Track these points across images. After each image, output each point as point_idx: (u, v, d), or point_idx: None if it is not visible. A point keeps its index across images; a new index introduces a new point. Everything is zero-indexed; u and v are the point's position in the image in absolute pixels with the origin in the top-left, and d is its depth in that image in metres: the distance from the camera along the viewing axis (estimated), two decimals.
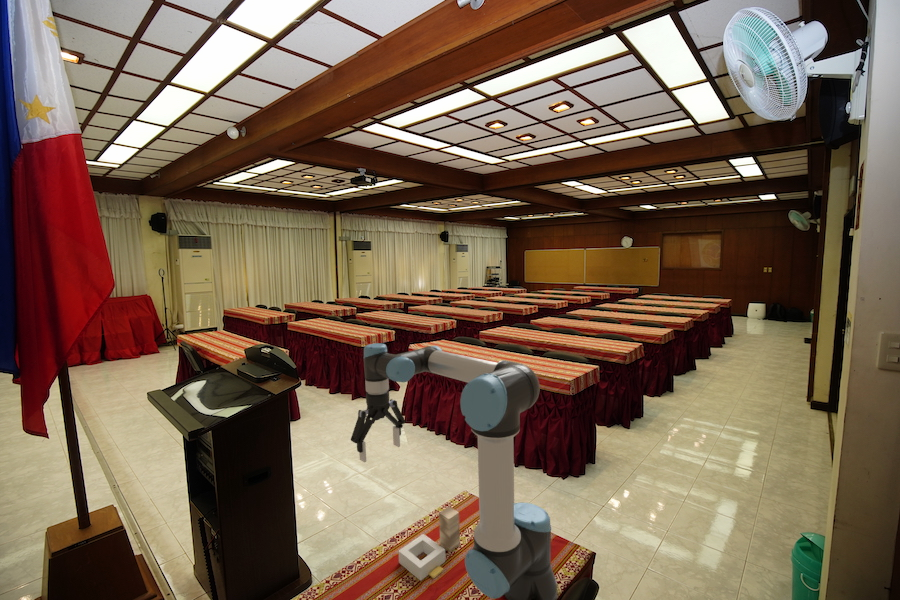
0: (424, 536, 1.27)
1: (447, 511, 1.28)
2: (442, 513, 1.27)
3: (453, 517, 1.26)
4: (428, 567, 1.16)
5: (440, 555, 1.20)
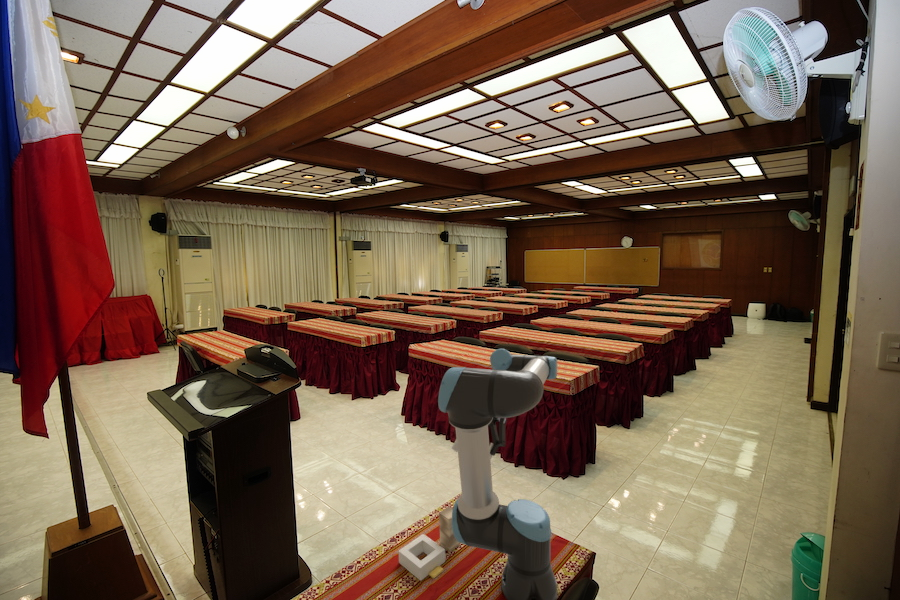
0: (424, 536, 1.27)
1: (447, 511, 1.28)
2: (442, 513, 1.27)
3: None
4: (428, 567, 1.16)
5: (440, 555, 1.20)
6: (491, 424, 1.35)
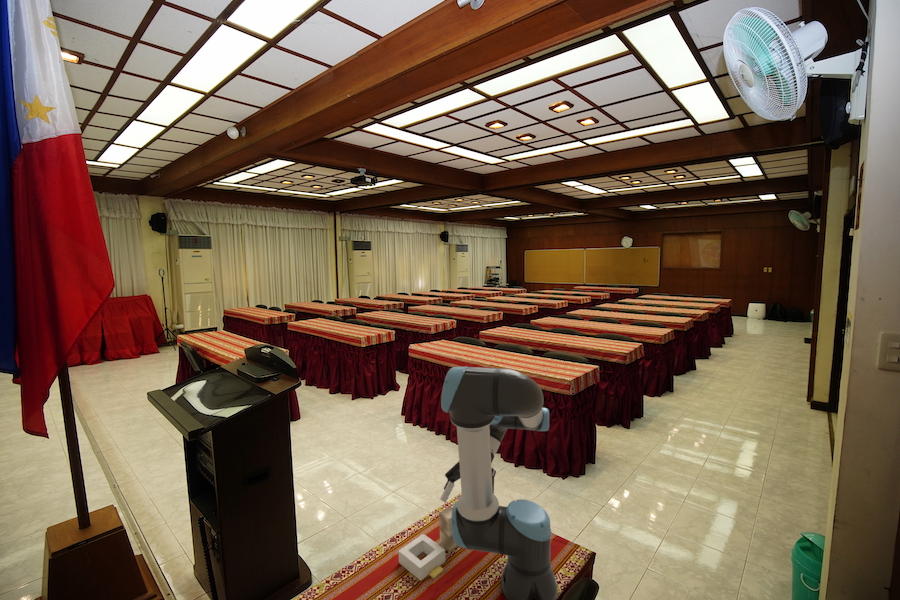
0: (424, 536, 1.27)
1: (447, 511, 1.28)
2: (442, 513, 1.27)
3: None
4: (428, 567, 1.16)
5: (440, 555, 1.20)
6: None
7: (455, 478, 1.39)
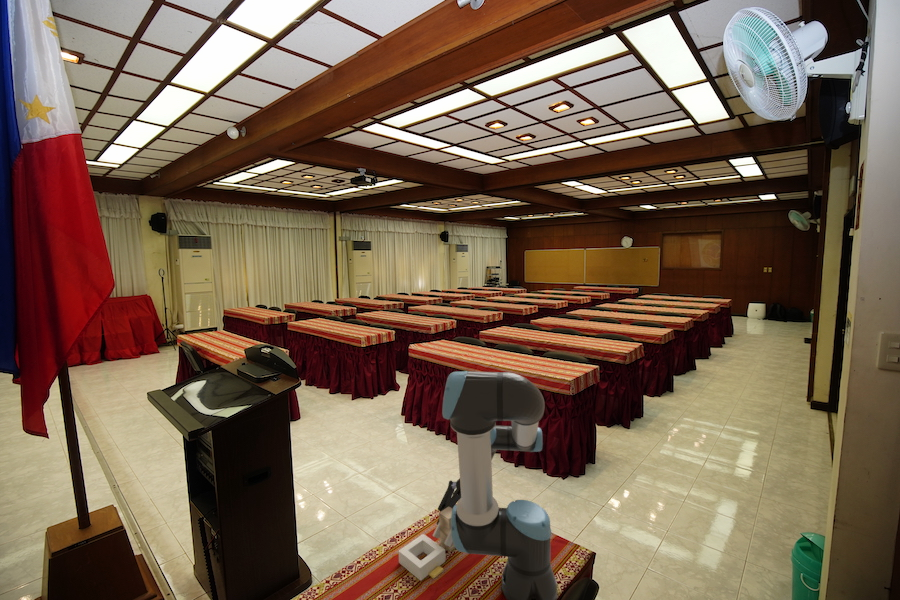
0: (424, 536, 1.27)
1: (447, 511, 1.28)
2: (442, 513, 1.27)
3: None
4: (428, 567, 1.16)
5: (440, 555, 1.20)
6: None
7: None
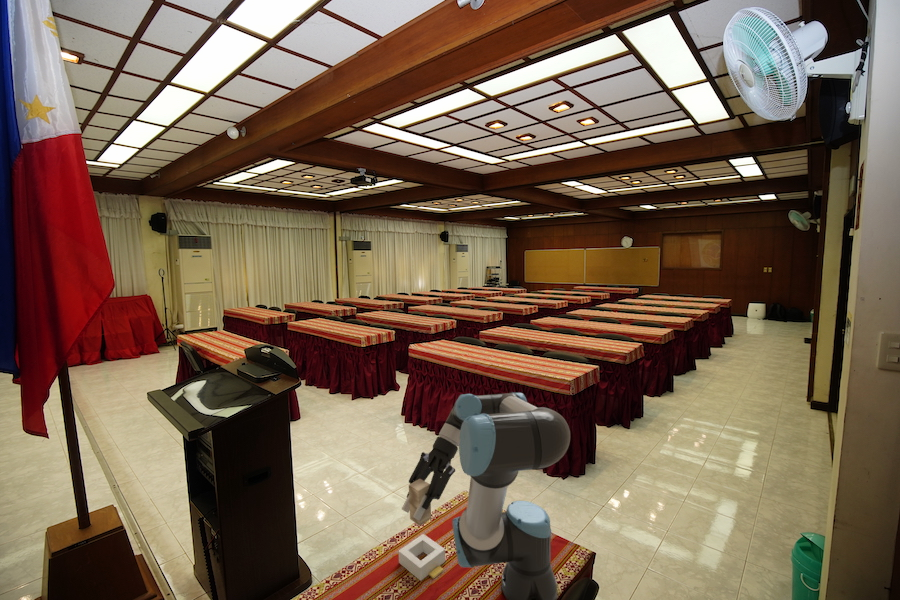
0: (424, 536, 1.27)
1: (417, 483, 1.19)
2: (412, 485, 1.19)
3: (423, 489, 1.17)
4: (428, 567, 1.16)
5: (440, 555, 1.20)
6: (435, 472, 1.20)
7: None
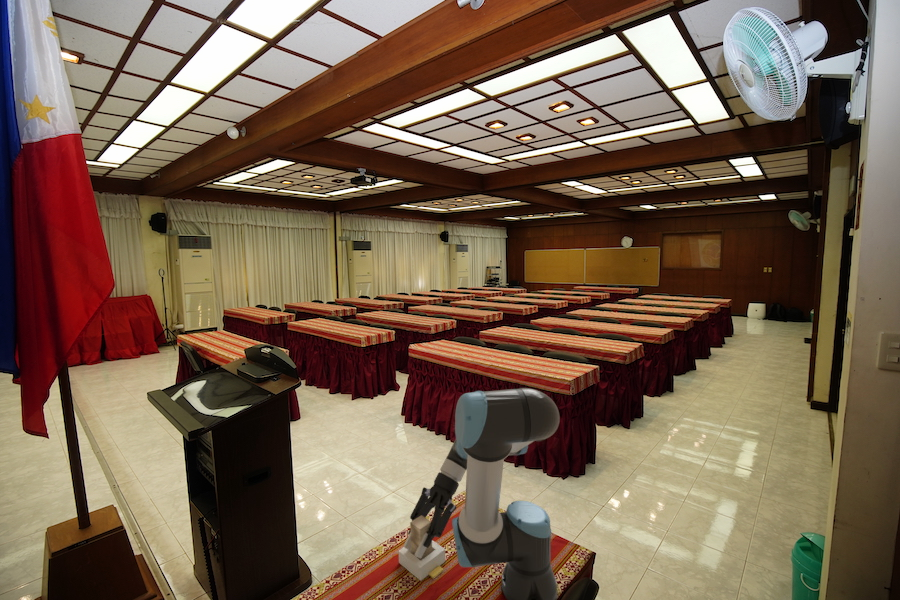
0: None
1: (419, 521, 1.21)
2: (413, 522, 1.20)
3: (425, 527, 1.19)
4: (428, 567, 1.16)
5: (440, 555, 1.20)
6: (436, 509, 1.22)
7: None
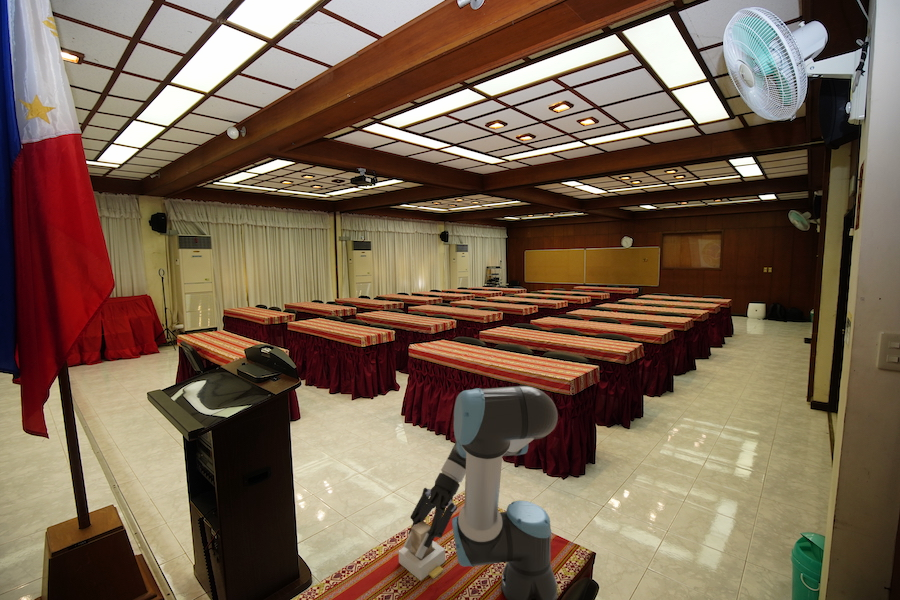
0: None
1: (420, 526, 1.21)
2: (414, 528, 1.20)
3: (425, 532, 1.19)
4: (428, 567, 1.16)
5: (440, 555, 1.20)
6: (437, 509, 1.22)
7: (421, 518, 1.24)
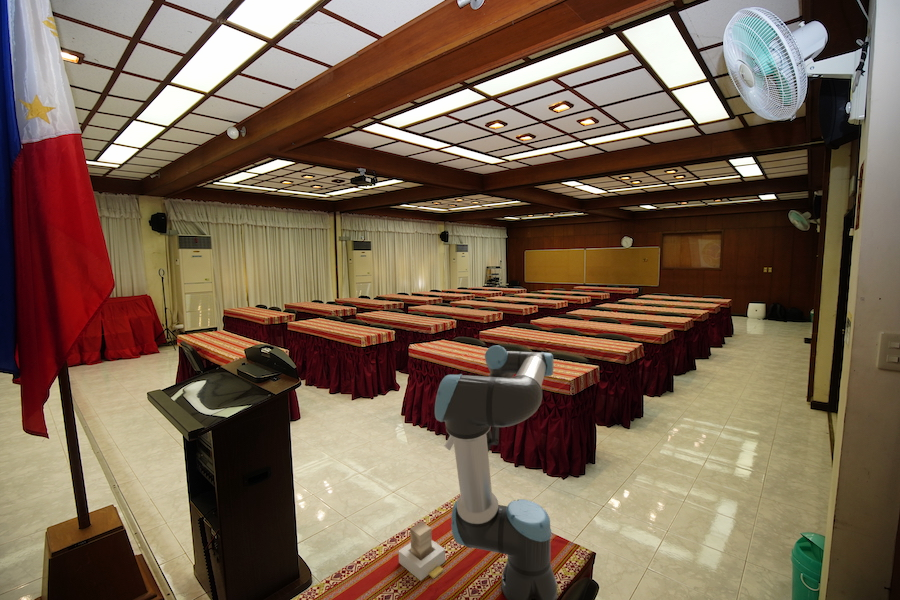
0: None
1: (419, 527, 1.21)
2: (413, 529, 1.20)
3: (424, 533, 1.19)
4: (428, 567, 1.16)
5: (440, 555, 1.20)
6: None
7: None
